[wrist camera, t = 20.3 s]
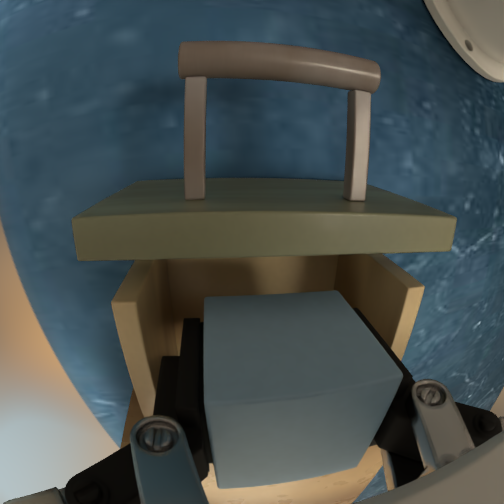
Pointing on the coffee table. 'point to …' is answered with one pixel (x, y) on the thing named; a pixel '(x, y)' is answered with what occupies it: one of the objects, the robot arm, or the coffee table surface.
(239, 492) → the cabinet
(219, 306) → the block
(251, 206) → the drawer
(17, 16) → the coffee table surface
